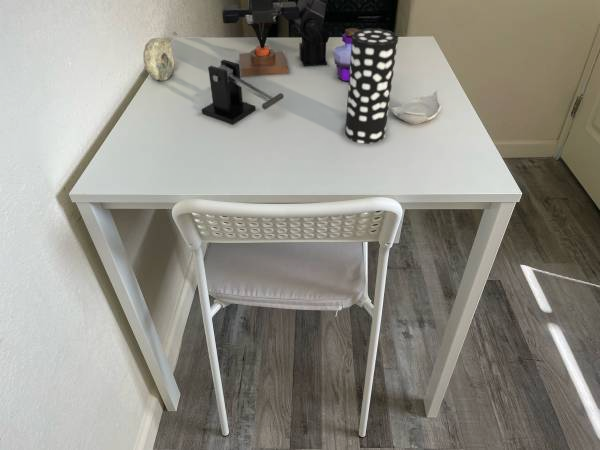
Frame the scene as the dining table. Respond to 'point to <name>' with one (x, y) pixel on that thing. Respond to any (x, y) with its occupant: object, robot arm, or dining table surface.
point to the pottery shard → (419, 109)
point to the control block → (263, 63)
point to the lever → (252, 88)
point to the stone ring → (158, 58)
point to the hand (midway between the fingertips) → (262, 47)
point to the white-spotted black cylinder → (370, 84)
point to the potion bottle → (344, 55)
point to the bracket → (226, 96)
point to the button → (262, 50)
